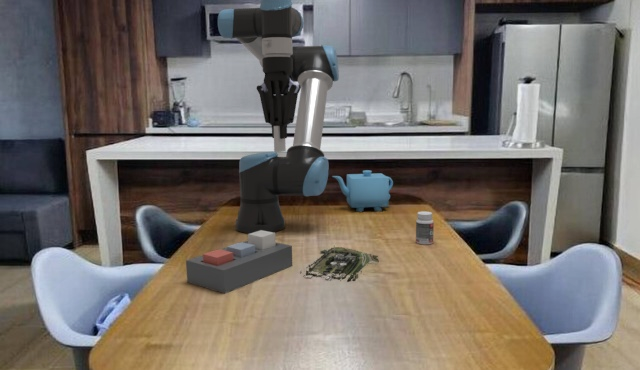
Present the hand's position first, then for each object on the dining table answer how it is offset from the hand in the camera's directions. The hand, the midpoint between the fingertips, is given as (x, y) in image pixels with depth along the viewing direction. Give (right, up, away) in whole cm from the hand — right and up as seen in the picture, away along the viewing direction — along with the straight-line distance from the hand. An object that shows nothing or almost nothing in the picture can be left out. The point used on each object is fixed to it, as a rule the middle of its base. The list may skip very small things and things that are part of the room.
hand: (279, 151), depth 137 cm
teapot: (+25, -17, +55) cm, 63 cm away
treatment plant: (+15, -29, -7) cm, 33 cm away
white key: (-4, -24, -8) cm, 26 cm away
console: (-8, -29, -13) cm, 33 cm away
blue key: (-8, -27, -13) cm, 31 cm away
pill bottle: (+39, -25, +11) cm, 47 cm away
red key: (-12, -28, -19) cm, 35 cm away
